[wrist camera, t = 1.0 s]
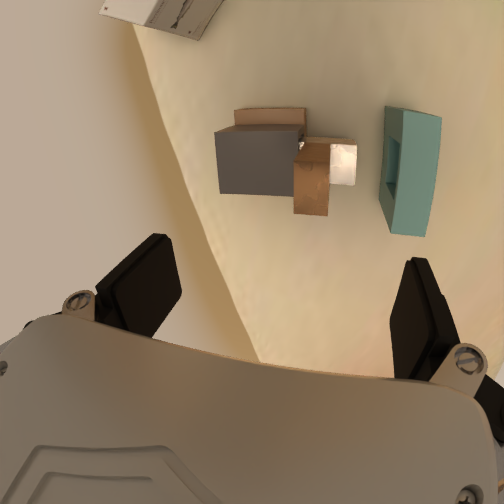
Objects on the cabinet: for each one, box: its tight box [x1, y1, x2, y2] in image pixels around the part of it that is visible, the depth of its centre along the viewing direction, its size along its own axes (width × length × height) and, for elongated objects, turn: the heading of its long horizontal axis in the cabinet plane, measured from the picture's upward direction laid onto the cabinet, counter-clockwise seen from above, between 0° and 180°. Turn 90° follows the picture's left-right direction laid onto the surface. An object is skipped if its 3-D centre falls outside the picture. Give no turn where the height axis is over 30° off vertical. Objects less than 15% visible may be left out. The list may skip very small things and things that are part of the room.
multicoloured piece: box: [294, 136, 357, 216], centre depth 26 cm, size 4×14×12 cm, turn 93°
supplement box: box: [99, 0, 223, 41], centre depth 22 cm, size 7×7×13 cm
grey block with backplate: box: [214, 108, 307, 197], centre depth 31 cm, size 10×8×9 cm
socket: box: [379, 106, 442, 237], centre depth 27 cm, size 12×4×10 cm, turn 3°
